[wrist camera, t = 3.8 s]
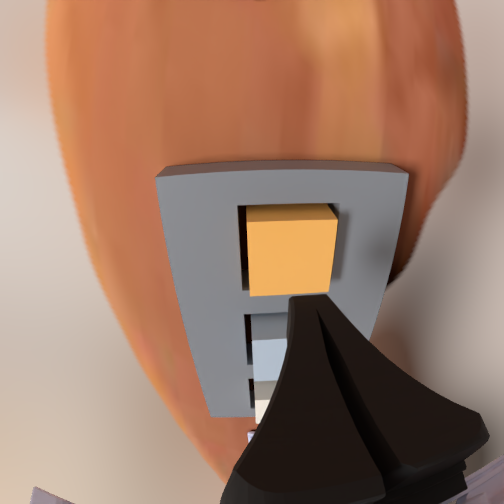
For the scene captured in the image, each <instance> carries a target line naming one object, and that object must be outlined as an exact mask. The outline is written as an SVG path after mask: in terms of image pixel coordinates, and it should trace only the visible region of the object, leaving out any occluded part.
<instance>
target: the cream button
mask: <svg viewBox="0 0 504 504" xmlns="http://www.w3.org/2000/svg"><path fill="white" fill-rule="evenodd" d="M277 381H278V380H273V381H254V393H255V414H256V423H260V421H261V419H262V417H263V415H264V413H265V411H266V408H267V406H268V404H269V402H270V399H271V397H272V394H273V391H274V389H275V386H276V383H277Z"/></svg>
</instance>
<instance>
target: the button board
mask: <svg viewBox="0 0 504 504" xmlns="http://www.w3.org/2000/svg"><path fill="white" fill-rule="evenodd" d="M408 177H409V173H407V172H405V171H403V170H402V169H400V168H398V167H396V166H394V165H393V164H389V163H375V162H357V161H332V160H261V161H235V162H217V163H203V164H191V165H179V166H169V167H165V168H164V169H163V170H162V171H161V172H160V173H159V174H158V175H157V176H156V177H155V180H156V187H157V194H158V200H159V207H160V213H161V219H162V224H163V230H164V236H165V241H166V246H167V251H168V256H169V261H170V266H171V271H172V276H173V280H174V285H175V289H176V294H177V298H178V302H179V306H180V311H181V315H182V319H183V323H184V327H185V331H186V334H187V338H188V342H189V346H190V349H191V353H192V357H193V360H194V364H195V367H196V371H197V374H198V377H199V381H200V384H201V387H202V391H203V394H204V397H205V400H206V403H207V406H208V409H209V412H210V415H211V417H256V414H255V393H254V390H250V385H249V379H253V378H254V373H253V352H252V344H247V341H246V325H245V314H260V313H279V312H288V301H289V298H290V297H292V296H302V295H317V294H327V295H328V296H329V297H330V299H331V300H332V301H333V302H334V303H335V304H336V306H337V307H338V308H339V309H340V310H341V311H342V313H343V314H344V315H345V316H346V317H347V318H348V319H349V321H350V322H351V323H352V324H353V325H354V326H355V327H356V328H357V329H358V330H359V331H360V332H361V333H362V334H363V336H364V337H365V338H366V339H367V340H368V341H369V340H370V337H371V334H372V330H373V328H374V325H375V321H376V319H377V315H378V312H379V308H380V306H381V302H382V299H383V295H384V292H385V288H386V285H387V281H388V277H389V274H390V270H391V266H392V262H393V258H394V253H395V249H396V244H397V240H398V235H399V230H400V225H401V220H402V215H403V209H404V204H405V197H406V191H407V184H408ZM295 203H328V207H329V208H330V209H331V211H332V212H333V213H334V215H335V216H336V218H337V219H338V223H337V232H336V241H335V249H334V257H333V264H332V272H331V279H330V285H329V292H319V293H304V294H288V295H269V296H250V286H249V270H242V260H241V243H240V225H239V206H238V205H260V204H295Z"/></svg>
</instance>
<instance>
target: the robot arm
mask: <svg viewBox="0 0 504 504" xmlns="http://www.w3.org/2000/svg"><path fill="white" fill-rule="evenodd" d="M286 337H287V348H286V353H285V357H284V361H283V365H282V368H281V371H280V375H279V378H278V381H277V383H276V386H275V389H274V391H273V394H272V397H271V399H270V402H269V404H268V406H267V408H266V411H265V413H264V415H263V417H262V419H261V421H260V423H259V425H258V427H257V429H256V431H250V432H248V441H249V444H248V445H247V447H246V449H245V450H244V452H243V453H242V455H241V457H240V458H239V460H238V461H237V463H236V464H235V466H234V468H233V471H232V473H231V476H230V478H229V480H228V482H227V485H226V487H225V489H224V492H223V494H222V497H221V500H220V504H448V503H450V502H452V501H454V500H456V499H457V501H456V504H504V454H503V455H502V456H500V457H499V458H497V459H496V460H494V461H493V462H491V463H489V464H488V465H486V466H485V467H483V468H481V469H480V470H478V471H476V472H475V473H473V474H471V475H470V476H468V477H466V478H464V475H463V472H462V471H464V470H465V469H466V464H465V461H464V460H465V459H466V458H468V457H469V456H470V455H472V454H473V453H474V452H476V451H477V450H478V449H479V448H481V447H482V446H483V445H484V444H485V443H486V442H487V441H488V439H489V436H490V435H489V433H488V431H487V428H486V427H485V424H484V422H483V420H482V417H481V416H480V414H479V413H477V412H475V411H473V410H470V409H468V408H466V407H463V406H461V405H459V404H457V403H454V402H452V401H450V400H449V399H447V398H445V397H443V396H441V395H439V394H437V393H435V392H434V391H432V390H430V389H429V388H427V387H426V386H424V385H423V384H421V383H420V382H418V381H417V380H415V379H414V378H412V377H411V376H409V375H408V374H407V373H405V372H404V371H402V370H401V369H400V368H399V367H397V366H396V365H395V364H394V363H393V362H391V361H390V360H389V359H387V358H386V357H385V356H384V355H383V354H382V353H381V352H380V351H379V350H378V349H377V348H376V347H375V346H373V345H372V344H371V343H370V342H369V341H368V340H367V339H366V338H365V337H364V336H363V334H362V333H361V332H360V331H359V330H358V329H357V328H356V327H355V326H354V325H353V324H352V323H351V322H350V321H349V319H348V318H347V317H346V316H345V315H344V314H343V313H342V311H341V310H340V309H339V308H338V307H337V306H336V304H335V303H334V302H333V301H332V300H331V299H330V297H329V296H328V295H327V294H317V295H302V296H292V297H290V298H289V301H288V318H287V332H286ZM30 504H74V503H71V502H69V501H67V500H64V499H62V498H60V497H58V496H55V495H53V494H50V493H49V492H46V491H44V490H42V489H40V488H38V487H34V488H33V492H32V496H31V501H30Z"/></svg>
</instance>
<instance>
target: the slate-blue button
mask: <svg viewBox="0 0 504 504" xmlns="http://www.w3.org/2000/svg"><path fill="white" fill-rule="evenodd" d="M287 318H288V312H279V313H260V314H251V330H252V352H253V373H254V381H273V380H278V378H279V375H280V371H281V368H282V365H283V361H284V357H285V353H286V348H287V337H286V332H287Z"/></svg>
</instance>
